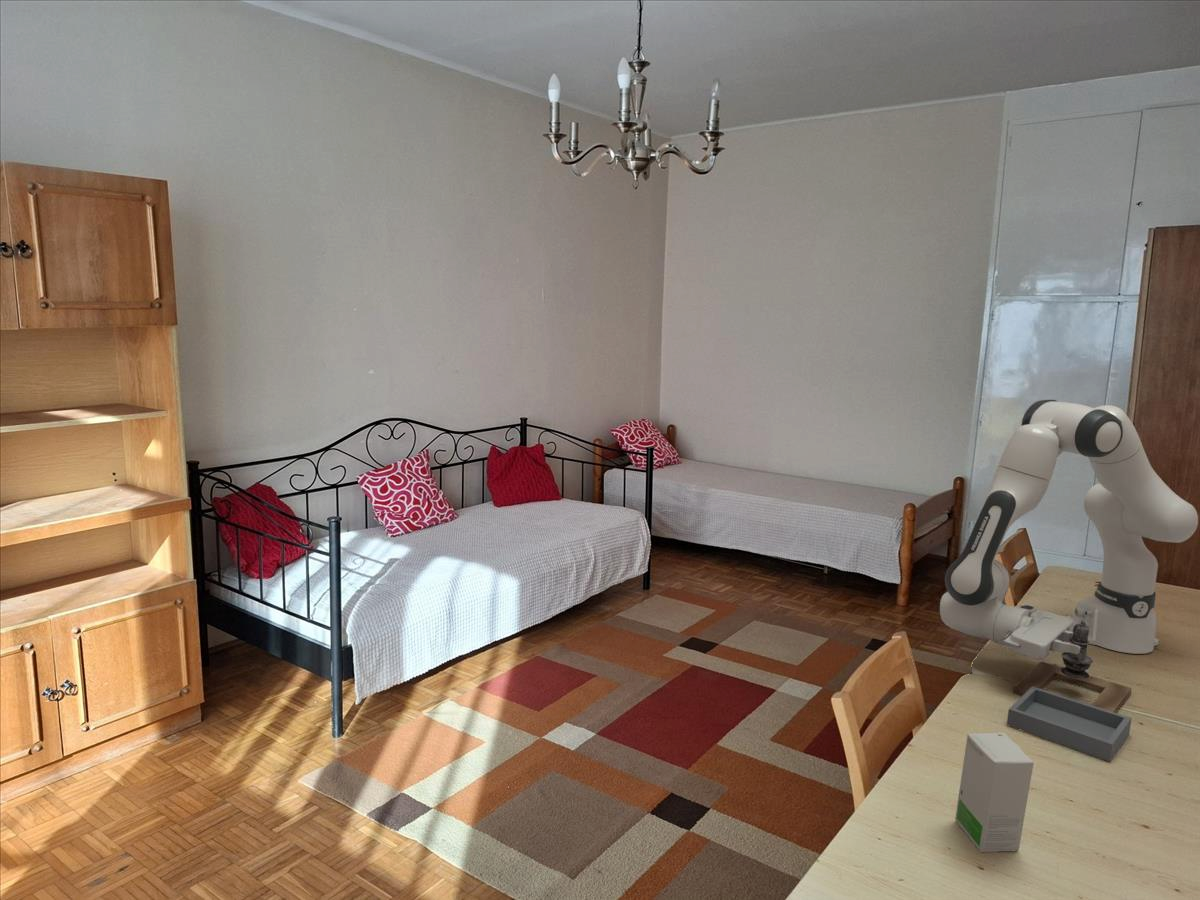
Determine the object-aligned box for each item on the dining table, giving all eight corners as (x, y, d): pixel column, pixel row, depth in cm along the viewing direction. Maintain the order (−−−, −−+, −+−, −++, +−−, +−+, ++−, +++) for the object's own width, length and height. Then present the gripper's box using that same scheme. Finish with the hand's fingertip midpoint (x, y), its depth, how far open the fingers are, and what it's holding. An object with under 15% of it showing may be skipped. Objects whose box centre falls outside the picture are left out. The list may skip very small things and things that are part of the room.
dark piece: (1094, 681, 174) (1102, 627, 171) (1064, 677, 175) (1071, 624, 172) (1085, 668, 179) (1093, 616, 177) (1055, 665, 180) (1062, 613, 178)
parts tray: (1006, 725, 164) (1008, 708, 163) (1030, 701, 174) (1032, 686, 173) (1109, 762, 152) (1112, 744, 151) (1129, 734, 161) (1131, 717, 161)
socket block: (1012, 692, 178) (1013, 686, 177) (1040, 667, 190) (1041, 661, 190) (1108, 724, 165) (1109, 717, 165) (1130, 694, 178) (1131, 688, 178)
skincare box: (954, 820, 134) (964, 731, 131) (993, 818, 134) (1003, 730, 131) (981, 855, 125) (993, 761, 123) (1023, 853, 126) (1035, 760, 123)
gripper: (999, 627, 177) (1070, 647, 167) (1031, 602, 191) (1098, 619, 182) (995, 654, 178) (1066, 676, 168) (1028, 628, 192) (1095, 646, 183)
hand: (1083, 646), depth 175 cm, fingers closed on dark piece, 3 cm apart
